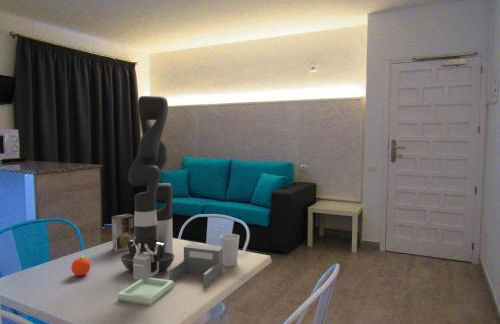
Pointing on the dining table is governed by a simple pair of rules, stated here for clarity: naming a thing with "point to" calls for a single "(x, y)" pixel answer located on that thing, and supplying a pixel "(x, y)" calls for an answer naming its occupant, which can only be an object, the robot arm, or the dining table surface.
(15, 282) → the dining table surface
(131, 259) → the bowl
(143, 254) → the white block
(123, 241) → the coffee box
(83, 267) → the clementine
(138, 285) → the tray
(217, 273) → the bay
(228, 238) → the cup
